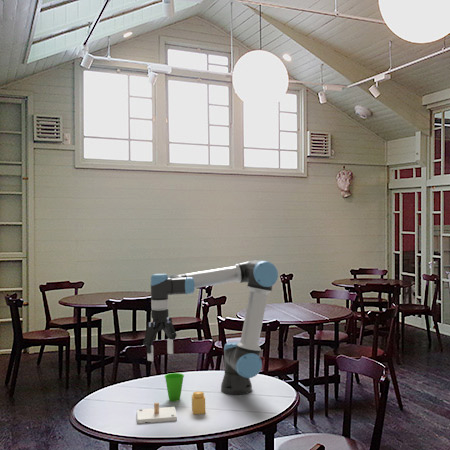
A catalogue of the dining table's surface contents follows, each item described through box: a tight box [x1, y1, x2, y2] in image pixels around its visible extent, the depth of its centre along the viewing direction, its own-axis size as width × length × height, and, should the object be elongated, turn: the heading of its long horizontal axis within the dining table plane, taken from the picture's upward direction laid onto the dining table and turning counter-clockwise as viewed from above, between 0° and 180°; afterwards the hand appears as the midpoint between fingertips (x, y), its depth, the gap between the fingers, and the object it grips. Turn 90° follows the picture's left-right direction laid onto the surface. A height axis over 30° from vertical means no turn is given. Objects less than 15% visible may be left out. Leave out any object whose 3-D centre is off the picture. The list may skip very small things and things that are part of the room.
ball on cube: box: [191, 390, 206, 415], centre depth 211 cm, size 5×5×8 cm
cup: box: [164, 372, 185, 402], centre depth 227 cm, size 9×9×11 cm
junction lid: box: [136, 402, 178, 424], centre depth 206 cm, size 16×12×6 cm
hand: (160, 357), depth 216 cm, fingers open, 13 cm apart
